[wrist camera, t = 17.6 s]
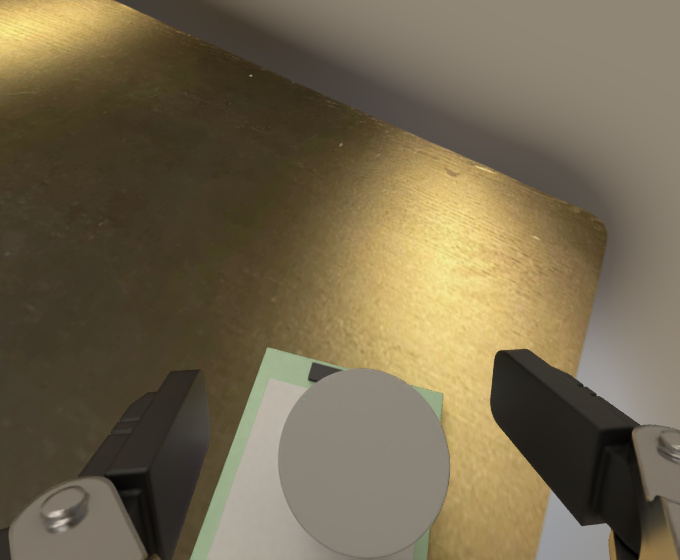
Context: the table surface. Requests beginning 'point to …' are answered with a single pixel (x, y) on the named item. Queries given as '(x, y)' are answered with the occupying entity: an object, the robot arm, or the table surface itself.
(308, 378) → the scale
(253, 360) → the table surface
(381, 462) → the container
